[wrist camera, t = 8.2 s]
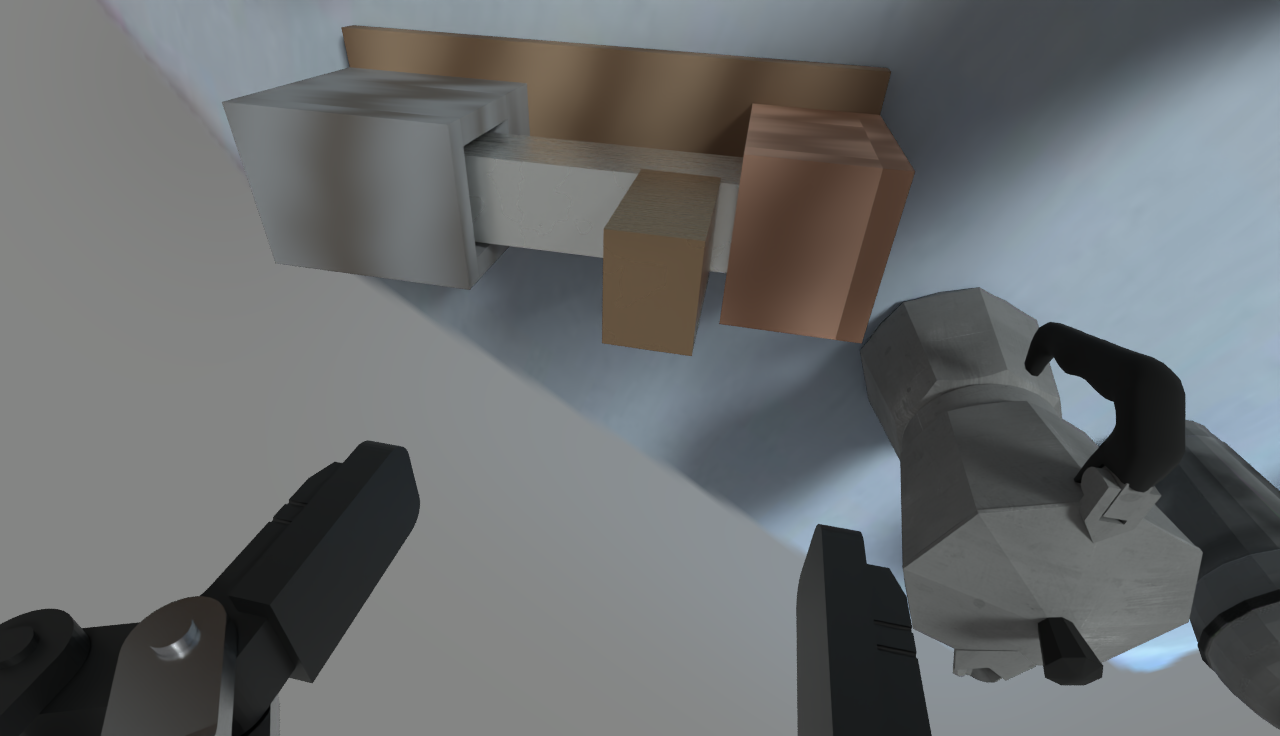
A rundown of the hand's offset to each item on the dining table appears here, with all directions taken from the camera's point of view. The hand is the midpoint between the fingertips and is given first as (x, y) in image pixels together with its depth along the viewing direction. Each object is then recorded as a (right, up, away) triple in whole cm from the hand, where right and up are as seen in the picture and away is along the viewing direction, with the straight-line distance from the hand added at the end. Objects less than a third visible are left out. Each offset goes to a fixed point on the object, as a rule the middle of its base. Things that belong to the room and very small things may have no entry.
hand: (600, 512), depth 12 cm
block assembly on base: (-2, +14, +19) cm, 23 cm away
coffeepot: (+18, +4, +21) cm, 28 cm away
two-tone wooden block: (+1, +11, +15) cm, 18 cm away
